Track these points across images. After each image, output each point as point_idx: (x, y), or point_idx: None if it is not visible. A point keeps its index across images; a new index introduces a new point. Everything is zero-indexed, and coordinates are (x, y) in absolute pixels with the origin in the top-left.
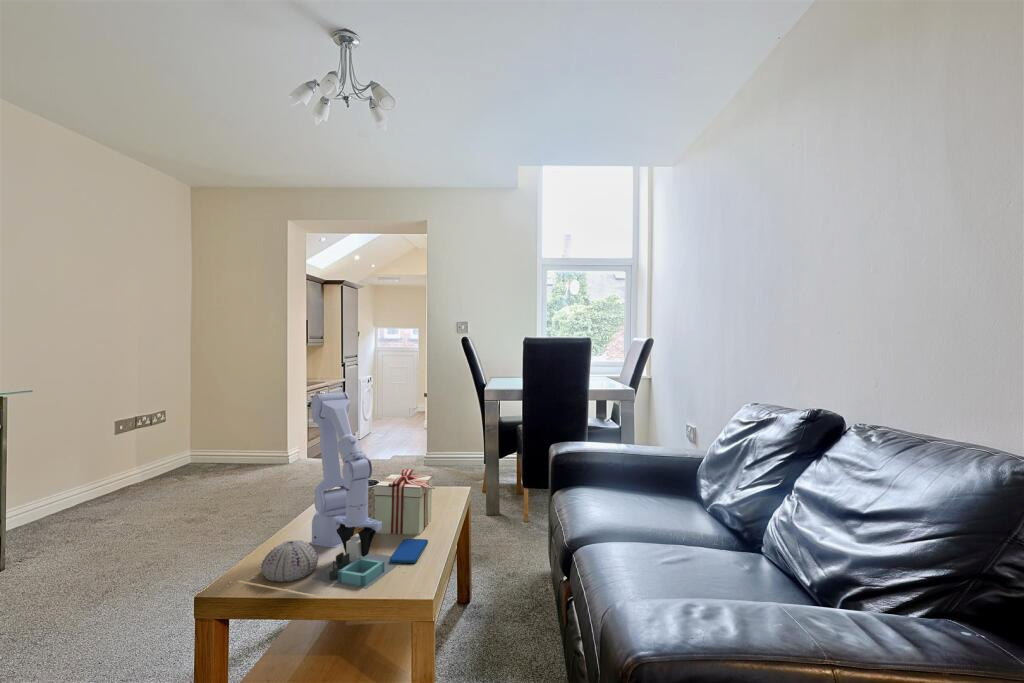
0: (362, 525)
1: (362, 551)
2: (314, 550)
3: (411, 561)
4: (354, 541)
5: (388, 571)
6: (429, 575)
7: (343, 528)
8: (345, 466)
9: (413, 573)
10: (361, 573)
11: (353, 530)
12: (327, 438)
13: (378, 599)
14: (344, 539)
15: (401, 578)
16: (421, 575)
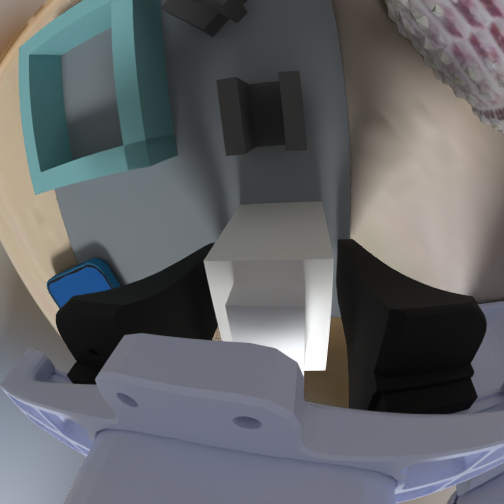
0: (63, 391)
1: (202, 251)
2: (491, 64)
3: (51, 278)
4: (257, 284)
5: (57, 190)
6: (3, 232)
7: (419, 370)
8: None
9: (24, 225)
10: (33, 50)
11: (350, 397)
12: None
13: (6, 51)
14: (368, 278)
15: (21, 179)
16: (10, 223)
